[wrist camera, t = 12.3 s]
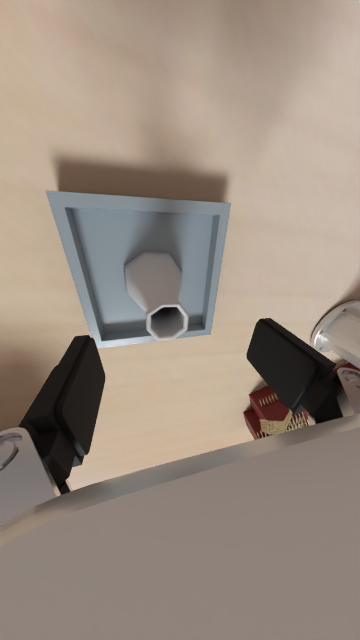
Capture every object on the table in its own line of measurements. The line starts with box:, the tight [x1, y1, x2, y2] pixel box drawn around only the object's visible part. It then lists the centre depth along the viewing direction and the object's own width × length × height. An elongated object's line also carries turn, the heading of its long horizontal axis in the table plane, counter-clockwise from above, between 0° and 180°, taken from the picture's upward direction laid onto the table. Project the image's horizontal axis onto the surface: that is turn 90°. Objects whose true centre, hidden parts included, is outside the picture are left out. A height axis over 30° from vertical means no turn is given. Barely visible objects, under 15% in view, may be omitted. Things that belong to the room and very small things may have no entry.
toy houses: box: [243, 363, 360, 440], centre depth 42 cm, size 45×20×10 cm, turn 110°
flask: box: [123, 251, 189, 341], centre depth 16 cm, size 7×7×10 cm
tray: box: [46, 191, 231, 348], centre depth 19 cm, size 16×16×2 cm
